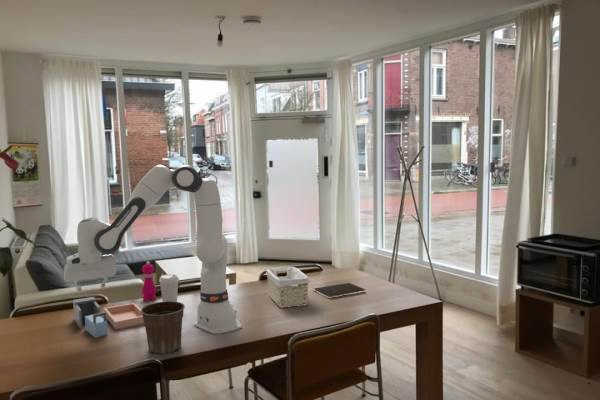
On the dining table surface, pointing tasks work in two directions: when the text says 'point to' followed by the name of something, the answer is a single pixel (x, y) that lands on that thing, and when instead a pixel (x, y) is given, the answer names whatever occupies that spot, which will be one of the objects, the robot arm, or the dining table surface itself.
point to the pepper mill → (148, 282)
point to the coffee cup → (169, 287)
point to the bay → (84, 309)
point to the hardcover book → (339, 289)
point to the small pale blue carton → (96, 324)
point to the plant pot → (163, 326)
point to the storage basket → (288, 286)
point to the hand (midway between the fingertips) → (91, 289)
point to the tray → (124, 316)
